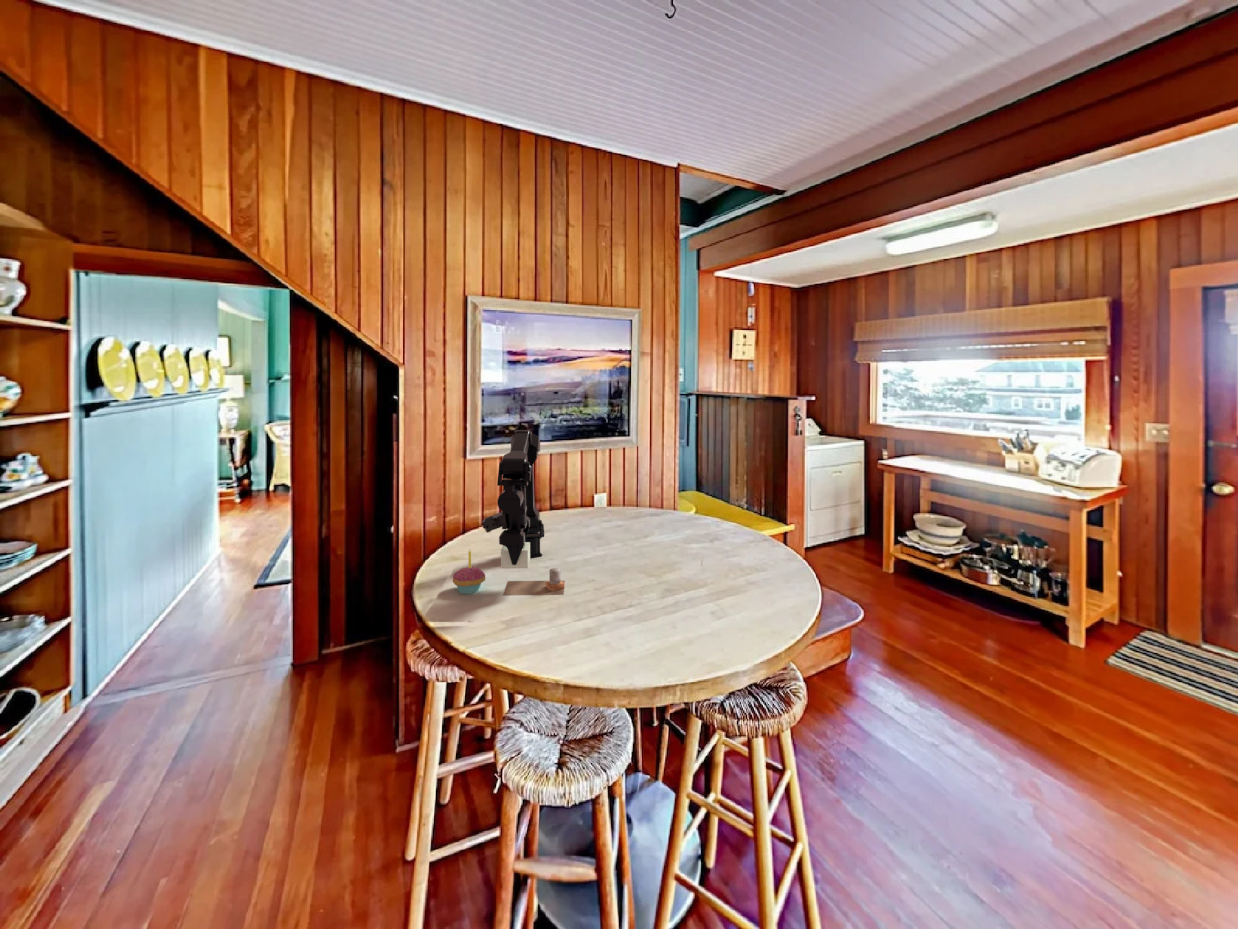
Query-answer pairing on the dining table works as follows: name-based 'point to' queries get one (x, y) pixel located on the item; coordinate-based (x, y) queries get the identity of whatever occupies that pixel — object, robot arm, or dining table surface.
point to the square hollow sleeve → (522, 561)
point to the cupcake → (468, 578)
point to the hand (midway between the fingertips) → (515, 560)
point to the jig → (537, 586)
